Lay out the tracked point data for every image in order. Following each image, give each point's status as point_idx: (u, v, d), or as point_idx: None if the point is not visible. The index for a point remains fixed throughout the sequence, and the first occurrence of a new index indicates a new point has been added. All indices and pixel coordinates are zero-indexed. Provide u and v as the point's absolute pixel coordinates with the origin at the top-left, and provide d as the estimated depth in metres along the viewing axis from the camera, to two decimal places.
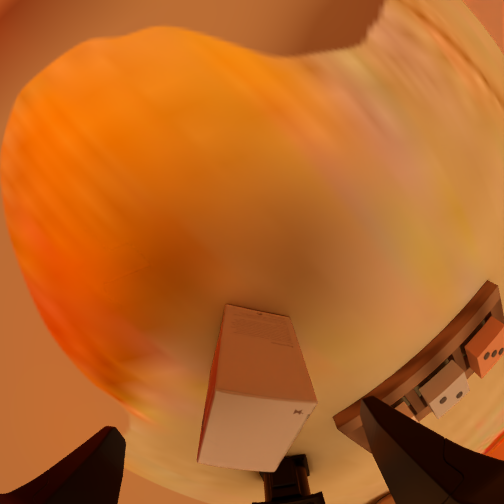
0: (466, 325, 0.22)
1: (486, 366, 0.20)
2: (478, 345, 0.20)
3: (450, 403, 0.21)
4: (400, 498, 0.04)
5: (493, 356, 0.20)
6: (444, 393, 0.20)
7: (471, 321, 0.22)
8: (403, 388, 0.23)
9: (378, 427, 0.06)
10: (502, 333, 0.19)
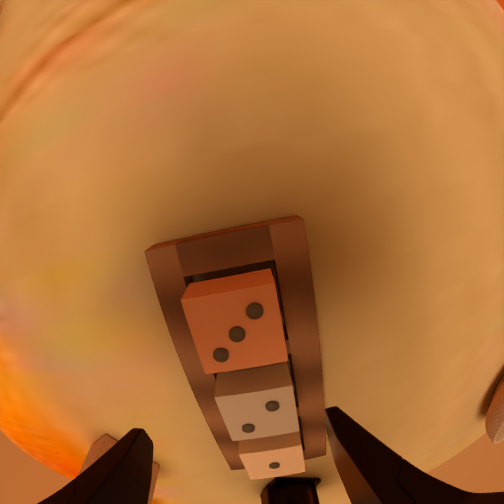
0: (173, 336, 0.18)
1: (261, 350, 0.15)
2: None
3: (281, 416, 0.16)
4: None
5: (243, 336, 0.15)
6: (232, 425, 0.16)
7: (172, 325, 0.18)
8: (218, 425, 0.20)
9: (337, 440, 0.06)
10: (198, 308, 0.14)
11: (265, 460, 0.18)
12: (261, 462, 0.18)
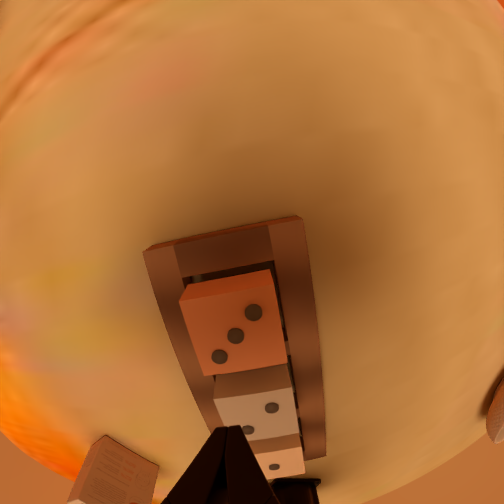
0: (172, 337, 0.18)
1: (261, 352, 0.15)
2: None
3: (280, 418, 0.16)
4: None
5: (242, 338, 0.14)
6: None
7: (171, 327, 0.18)
8: (217, 426, 0.20)
9: (225, 459, 0.06)
10: (197, 309, 0.14)
11: (265, 461, 0.17)
12: (260, 464, 0.18)
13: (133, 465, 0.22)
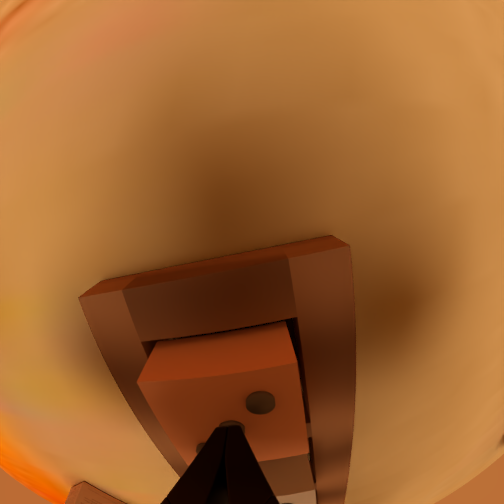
0: (139, 416, 0.10)
1: (271, 445, 0.08)
2: None
3: None
4: None
5: None
6: None
7: (135, 403, 0.10)
8: None
9: (225, 459, 0.06)
10: (167, 395, 0.08)
11: None
12: None
13: None
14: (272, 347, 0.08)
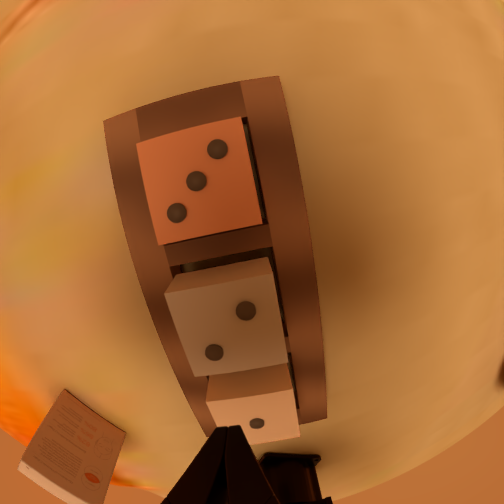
0: (125, 223, 0.14)
1: (227, 206, 0.12)
2: None
3: (260, 332, 0.13)
4: None
5: (204, 184, 0.12)
6: (192, 346, 0.13)
7: (125, 208, 0.14)
8: (183, 364, 0.17)
9: (225, 459, 0.06)
10: (154, 151, 0.11)
11: (244, 413, 0.14)
12: (238, 418, 0.14)
13: (93, 428, 0.19)
14: None
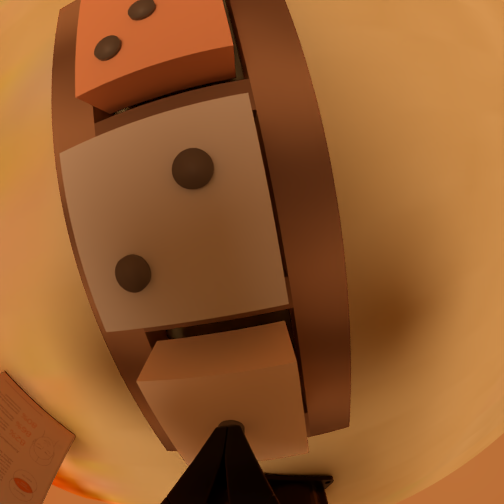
0: (55, 104, 0.08)
1: (181, 29, 0.06)
2: None
3: (224, 225, 0.06)
4: None
5: (151, 9, 0.05)
6: (95, 262, 0.06)
7: (58, 86, 0.07)
8: None
9: (225, 459, 0.06)
10: None
11: (206, 410, 0.08)
12: (197, 417, 0.08)
13: (32, 424, 0.12)
14: None
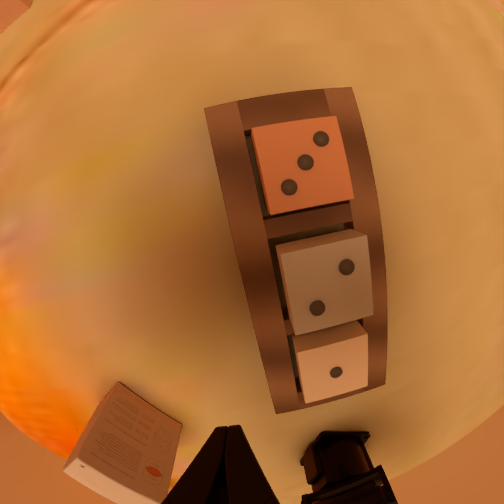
0: (227, 199, 0.17)
1: (329, 184, 0.15)
2: (265, 194, 0.16)
3: (355, 287, 0.15)
4: None
5: (311, 165, 0.15)
6: (298, 304, 0.15)
7: (227, 186, 0.17)
8: (268, 335, 0.19)
9: (225, 459, 0.06)
10: (269, 135, 0.14)
11: (326, 362, 0.17)
12: (321, 368, 0.17)
13: (150, 420, 0.21)
14: None
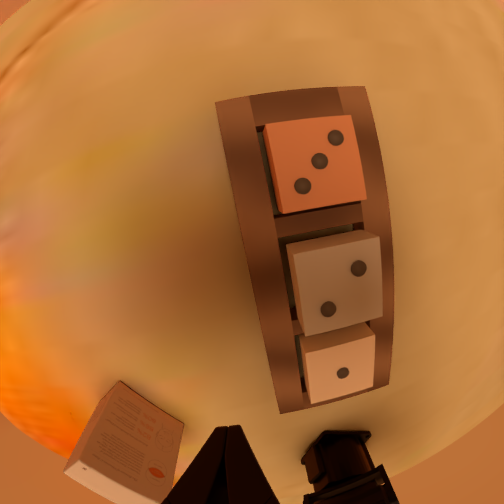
0: (237, 197, 0.16)
1: (342, 184, 0.14)
2: (276, 192, 0.16)
3: (365, 288, 0.15)
4: None
5: (326, 164, 0.14)
6: (309, 305, 0.15)
7: (238, 183, 0.16)
8: (275, 335, 0.19)
9: (225, 459, 0.06)
10: (283, 132, 0.14)
11: (334, 363, 0.17)
12: (328, 368, 0.17)
13: (152, 420, 0.20)
14: None
